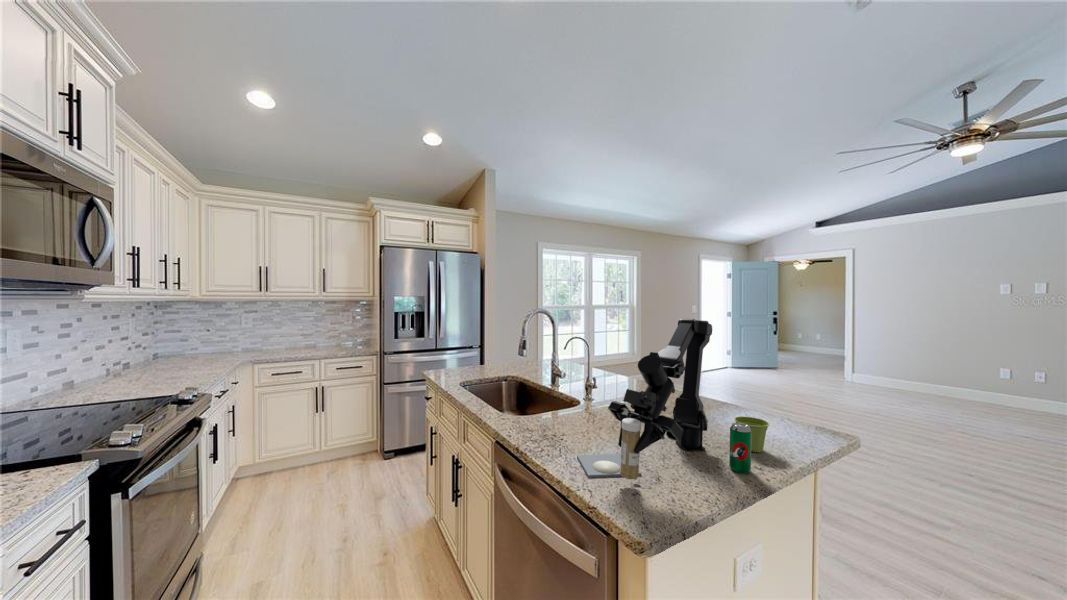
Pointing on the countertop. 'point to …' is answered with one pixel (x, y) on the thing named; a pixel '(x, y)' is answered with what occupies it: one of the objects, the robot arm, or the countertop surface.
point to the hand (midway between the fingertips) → (627, 449)
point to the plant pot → (755, 431)
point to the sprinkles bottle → (630, 448)
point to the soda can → (740, 448)
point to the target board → (601, 465)
